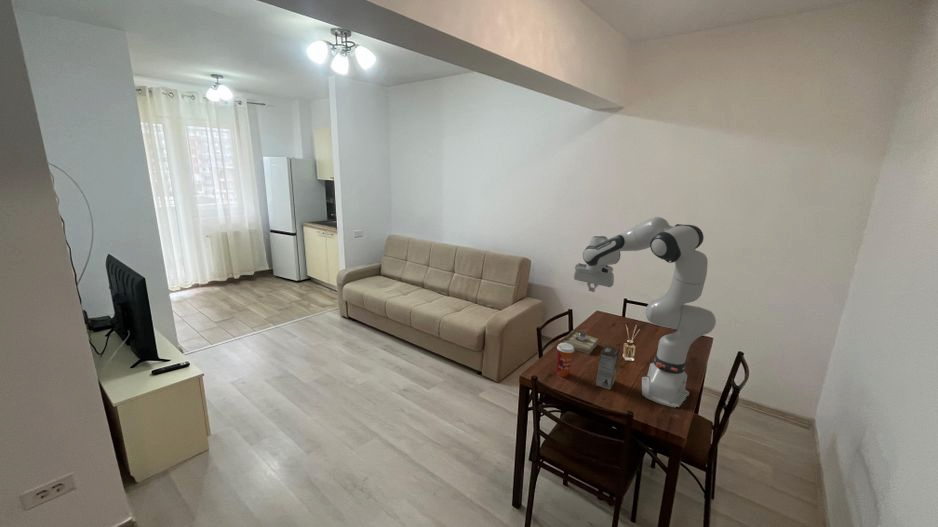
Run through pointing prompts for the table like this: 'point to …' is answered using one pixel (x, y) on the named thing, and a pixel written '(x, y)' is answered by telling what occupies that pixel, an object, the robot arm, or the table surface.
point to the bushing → (581, 336)
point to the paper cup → (564, 359)
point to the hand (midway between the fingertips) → (591, 291)
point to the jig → (581, 346)
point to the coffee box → (607, 367)
